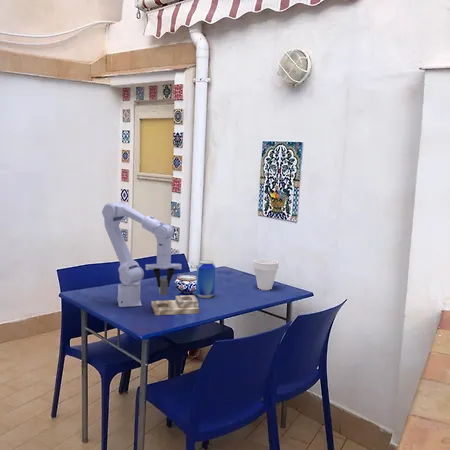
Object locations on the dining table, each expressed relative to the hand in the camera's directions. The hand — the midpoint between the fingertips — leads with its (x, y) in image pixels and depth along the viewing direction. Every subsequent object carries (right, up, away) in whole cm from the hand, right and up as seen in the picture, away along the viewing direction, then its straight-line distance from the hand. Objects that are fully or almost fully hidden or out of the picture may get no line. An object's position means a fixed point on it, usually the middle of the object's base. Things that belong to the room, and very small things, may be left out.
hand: (163, 286), depth 212 cm
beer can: (+16, -7, +24) cm, 30 cm away
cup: (+45, -6, +41) cm, 61 cm away
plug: (0, -3, 0) cm, 3 cm away
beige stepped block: (+4, -10, +3) cm, 11 cm away
